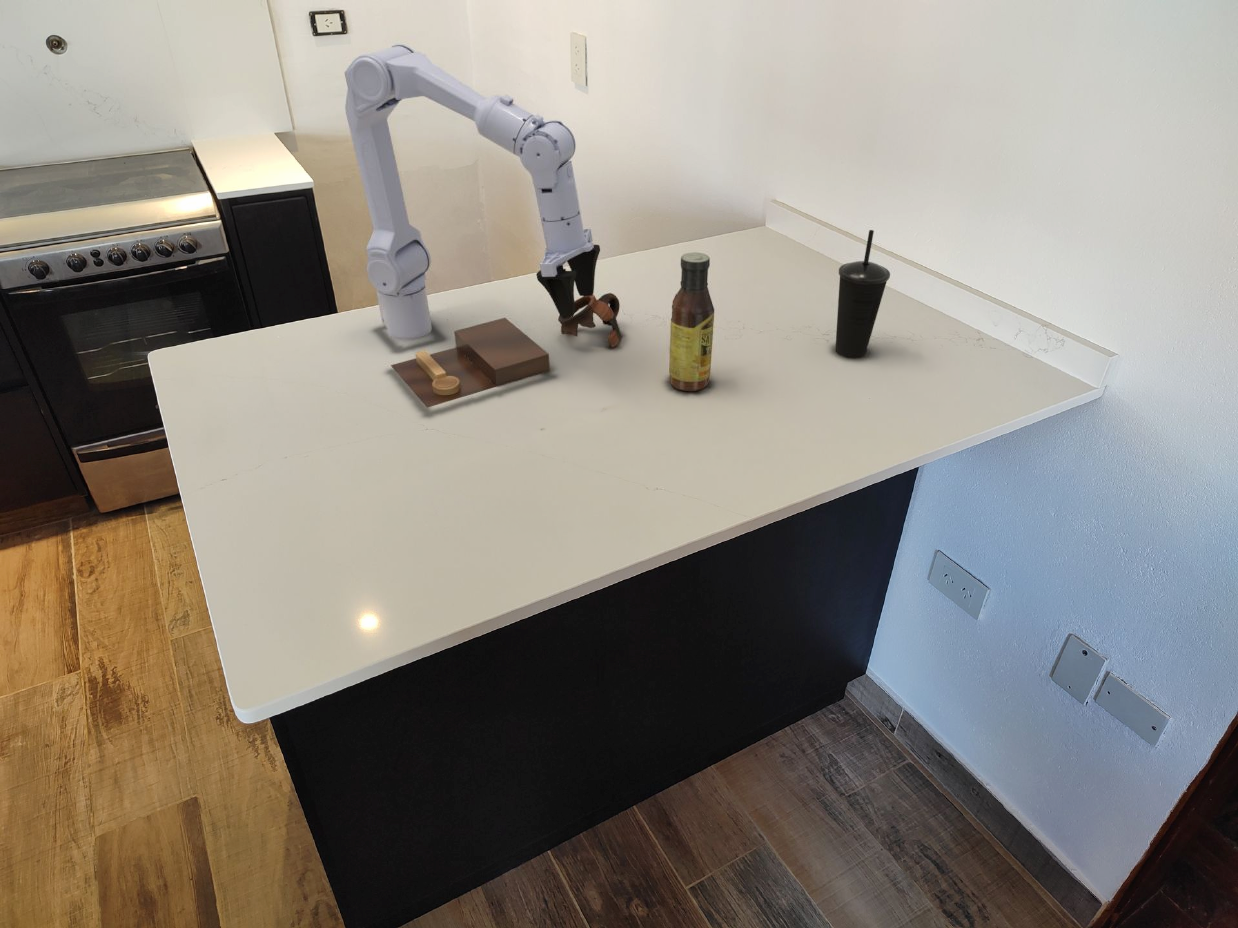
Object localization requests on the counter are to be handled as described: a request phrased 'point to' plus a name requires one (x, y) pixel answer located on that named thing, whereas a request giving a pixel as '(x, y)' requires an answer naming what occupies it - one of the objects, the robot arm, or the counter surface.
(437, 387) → the spoon
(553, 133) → the robot arm
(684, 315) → the sauce bottle
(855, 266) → the drinking cup
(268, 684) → the counter surface
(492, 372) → the step shelf
